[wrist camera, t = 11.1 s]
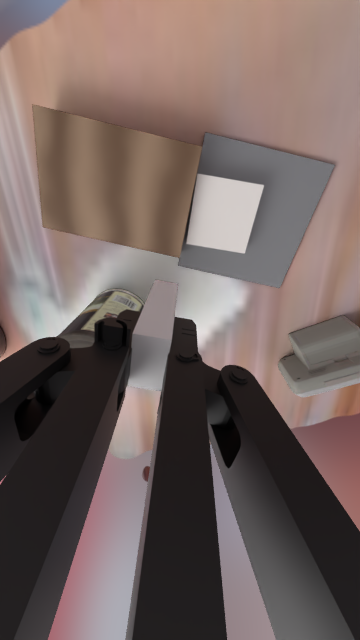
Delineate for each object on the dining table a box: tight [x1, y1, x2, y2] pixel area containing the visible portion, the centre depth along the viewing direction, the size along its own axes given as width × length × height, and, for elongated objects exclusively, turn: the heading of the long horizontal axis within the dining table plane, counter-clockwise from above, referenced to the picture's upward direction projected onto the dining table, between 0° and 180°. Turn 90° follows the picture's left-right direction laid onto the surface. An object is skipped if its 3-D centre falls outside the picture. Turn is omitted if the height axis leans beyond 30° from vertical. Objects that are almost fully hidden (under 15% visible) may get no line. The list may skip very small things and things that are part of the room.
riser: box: [32, 104, 202, 258], centre depth 28 cm, size 18×12×4 cm, turn 78°
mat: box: [178, 132, 335, 288], centre depth 30 cm, size 16×16×1 cm
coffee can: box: [57, 289, 145, 387], centre depth 32 cm, size 10×10×14 cm
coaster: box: [186, 174, 264, 254], centre depth 29 cm, size 8×8×2 cm
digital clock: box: [278, 315, 360, 397], centre depth 34 cm, size 16×9×11 cm, turn 105°
